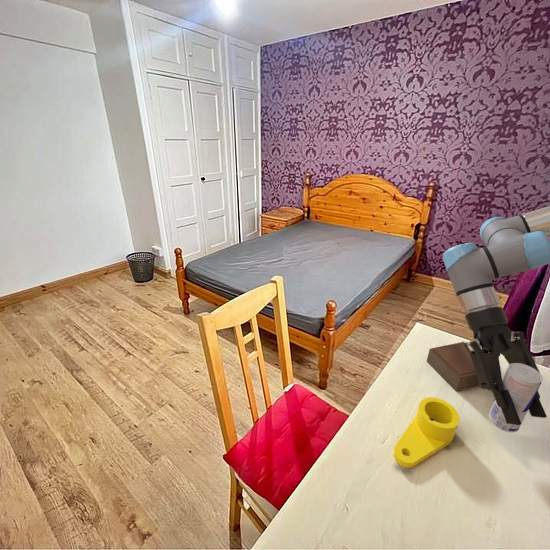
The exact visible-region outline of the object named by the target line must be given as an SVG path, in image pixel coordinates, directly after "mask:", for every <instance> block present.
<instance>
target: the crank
mask: <svg viewBox="0 0 550 550" xmlns="http://www.w3.org/2000/svg"><path fill="white" fill-rule="evenodd" d="M459 423H460V415H459V412H458V410H456V408H455V407H454V406H453V405H451V403H449V402H447V401H446V400H444V399H442V398H438V397H431V396H430V397H424V398H423V399H422V400H420V402H419V404H418V408H417V411H416V414H415V417H414V418H413V419H412V421H411V422H410V423H409V424H408V426H407V428H406V429H405V430H404V432H403V434H401V437H400V438H399V440H397V442H396V444H395V445H394V447H393V452H392V454H393V458H394V461H395V462H396V463H397V464H398V465H400V467H403V468H406V469H412V468H414V467H415V466H417V465H419V464H421V463H422V462H423V461H425V460H426V459H428V458H429V457H431V456H433V455H434V454H436V453H438V452H439V451H440V450H442V449H444V448H445V447H447V446H449V445H450V444H451V443H452V442H453V440H454V437H455V434H456V432H457V429H458V426H459Z"/></svg>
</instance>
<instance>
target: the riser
mask: <svg viewBox="0 0 550 550" xmlns="http://www.w3.org/2000/svg"><path fill="white" fill-rule="evenodd" d="M464 343H466V342H465V341H461V342H455V343H450V344H446V345H441V346H436V347H431V348H429V350H428V354H427V358H426V363H428V365H430V367H431V368H432V369H433V370H434V371H435V372H436V373H437V374H438V375H439V376H440V377H441V378H442V379H443V380H444V381H445V382H446V383H447V384H448V385H449V386H450V387H451V388H452V390H454V391H455V392H459V391H463V390H466V389H471V388H475V387H479V386H480V383H479V380H478V377H477V374H476V371H475V368H474V365H473V362H472V359H471V356H470V353H469V352H468V350H467V349H466V347H465V346H464ZM480 387H481V386H480Z"/></svg>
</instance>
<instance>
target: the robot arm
mask: <svg viewBox="0 0 550 550" xmlns="http://www.w3.org/2000/svg"><path fill="white" fill-rule="evenodd" d="M479 236H480V240H481V242H482V243H483V245H484V247H480V248H479V247H478V246H477V245H476V244H475V243H474V242H465V243H461V244H460V243H459V244H457V245H455V246H452V247H450V248H448V249H447V250H445V251H444V252H443V254H442V260H443V263H444V266H445V269H446V273H447V276H448V278H449V280H450V283H451V285H452V288H453V290H454V292H455V295H456V298H457V301H458V303H459V305H460V308H461V312H463V313H466V314H464V319H465V322H466V324H467V326H468V329H469V330H470V331H471V332H472V334H473V336H472V337H473V339H472V340H470V341H467V342H465V343H464V346H465V347H466V349H467V350H468V352H469V353H470V356H471V359H472V362H473V365H474V368H475V371H476V374H477V377H478V380H479V383H480V388H481V389H482V390H487V391H490V392H492V394H493V398H494V400H496V403H497V405H498V406H499V407H501V409H502V412H503V414H504V417H505V420H506V422H507V423H508V424H514V425H522V424H521V421H520V419H519V416H518V414H517V411H516V409H515V406H514V404H513V401H512V399H511V396H510V394H509V391H508V390H503V382H502V380H503V375H502V370H501V364H500V356H501V355H502V356H503V357H504V359H505V360H506V362H507V363H508V366H509V365H510V364H511V363H521V364H525V365H528V366H530V367H532V368H534V369H535V370H537V371H538V372H539V373H540V374H541V372H540V370H539V368H538V366H537V363H536V362H535V360H534V359H535V358H534V357H533V355H532V353H531V352H530V349H529V347H528V345H527V343H526V338H525V333H524V331H522V330H520V331H511V329H510V328H509V327H508V325H507V324H508V323H509V319H508V317H507V315H506V313H505V310H504V308H503V307H502V306H500V305H501V303H502V302H501V300H500V298H499V295H498V293H497V291H496V289H495V287H494V284H493V280H495V279H499V278H503V277H508V276H510V275H516V274H519V273H522V272H527V271H530V270H535V269H537V268H540V267H543V266H546V265H550V205H548V206H545V207H541V208H538V209H535V210H531V211H528V212H524V213H522V214H519V215H515V216H512V217H504V216H493V217H491V218H489V219H486V220H485V221H484V222H483V223H482V225H481V226H480V229H479ZM540 399H541V394H540V393H539V390H538V391H537V393H536V395H535V397H534V399H533V401H532V403H531V405H530V407H529V409H528V411H529V413H530V416H531V417H533V418H534V417H535V418H541V419H545V418H547V417H548V416H547V414H546V412H545V409H544V407H543V405H542V402H541V400H540Z"/></svg>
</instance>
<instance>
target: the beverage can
mask: <svg viewBox="0 0 550 550" xmlns="http://www.w3.org/2000/svg"><path fill="white" fill-rule="evenodd" d="M539 372H540V371H539ZM539 372H538V371H537V370H535V369H534V368H532V367H530V366H528V365H525V364H521V363H511V364H510V365H509V364H508V366H507V369H506V371H505V373H504V375H503V377H502V382H503V390H508V391H509V394H510V396H511V399H512V401H513V404H514V406H515V409H516V411H517V414H518V416H519V419H520V421H521V425H522V423H523V422H524V419H525V418H526V415H527V413H528V411H529V407H530V405H531V403H532V401H533V399H534V397H535V395H536V393H537V391H538V392H539V389H540V386H541V385H542V382H543V375H542V374H541V372H540V373H539ZM488 419H489V420H490V422H491V423H492V424H493V426H495V427H496V428H498V429H499V430H501V431H504V432H507V433H516V432H518V431H519V430H520V427H521V425H514V424H508V423H507V422H506V420H505V417H504V414H503V412H502V409H501V407H499V406H498V405H497V403H496V400H495V399H494V400H493V402H492V404H491V407H490V409H489V412H488Z"/></svg>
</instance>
